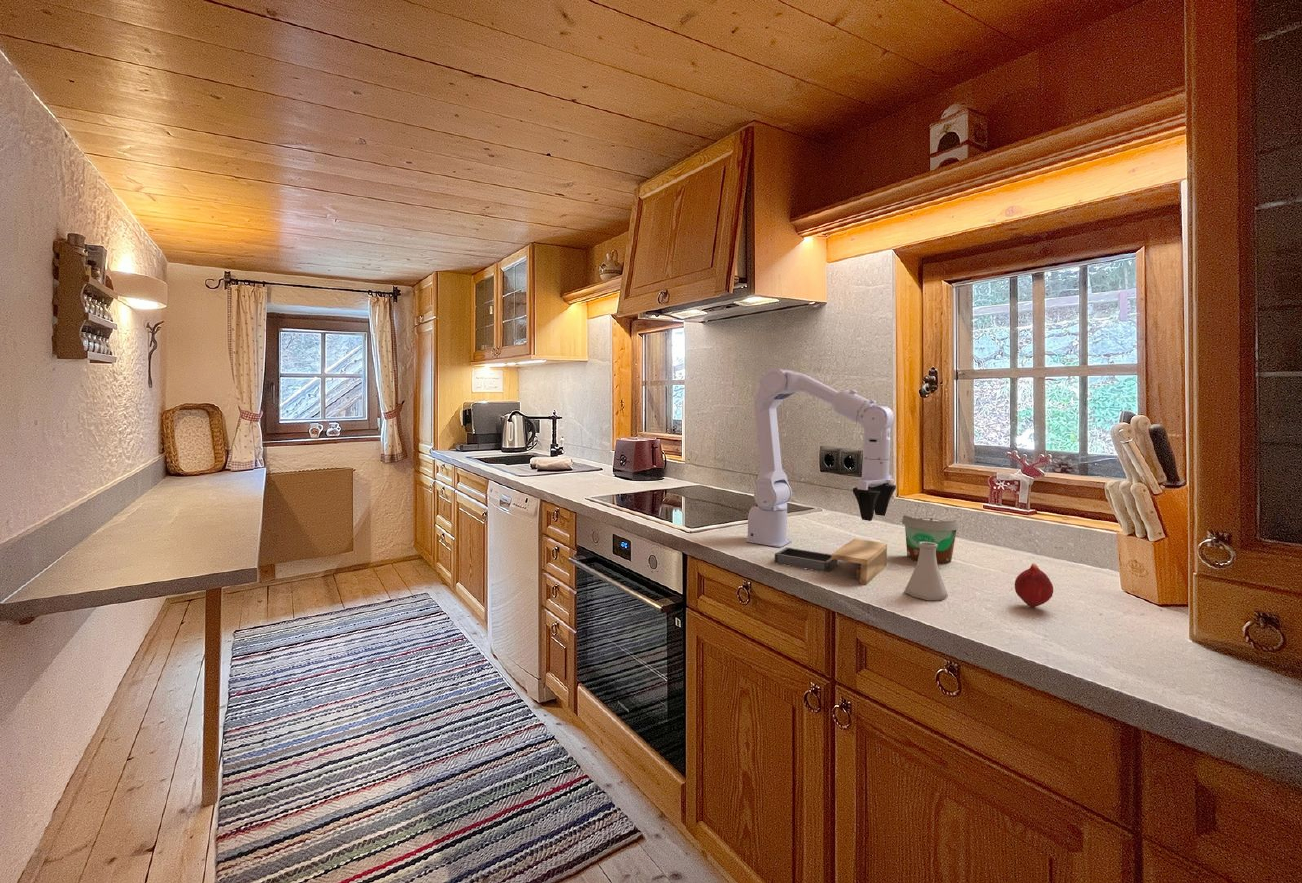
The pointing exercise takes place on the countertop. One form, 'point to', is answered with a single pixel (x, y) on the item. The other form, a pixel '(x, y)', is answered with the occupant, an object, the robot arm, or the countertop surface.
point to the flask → (926, 575)
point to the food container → (930, 536)
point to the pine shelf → (864, 557)
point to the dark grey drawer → (806, 559)
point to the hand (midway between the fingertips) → (873, 517)
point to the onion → (1033, 586)
